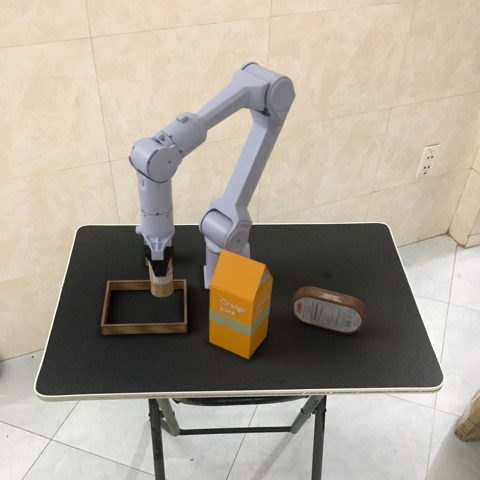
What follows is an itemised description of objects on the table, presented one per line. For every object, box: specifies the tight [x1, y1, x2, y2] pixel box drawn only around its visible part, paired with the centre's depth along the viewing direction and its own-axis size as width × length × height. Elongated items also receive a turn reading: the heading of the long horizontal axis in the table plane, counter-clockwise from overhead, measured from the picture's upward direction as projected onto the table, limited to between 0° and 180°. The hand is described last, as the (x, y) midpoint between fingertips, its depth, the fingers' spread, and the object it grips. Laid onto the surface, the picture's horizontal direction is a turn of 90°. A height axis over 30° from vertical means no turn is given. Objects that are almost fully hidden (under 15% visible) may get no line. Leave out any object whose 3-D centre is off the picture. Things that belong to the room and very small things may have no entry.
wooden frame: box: [100, 278, 188, 336], centre depth 112 cm, size 16×14×2 cm
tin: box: [290, 286, 369, 335], centre depth 109 cm, size 15×3×8 cm, turn 71°
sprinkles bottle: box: [147, 238, 174, 298], centre depth 106 cm, size 5×5×14 cm
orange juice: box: [208, 249, 274, 360], centre depth 101 cm, size 8×9×20 cm
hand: (160, 267), depth 107 cm, fingers closed on sprinkles bottle, 4 cm apart
